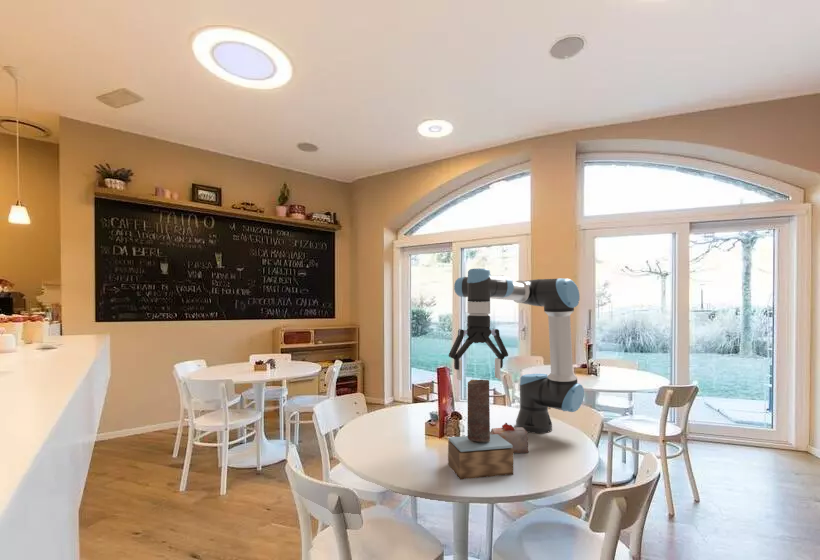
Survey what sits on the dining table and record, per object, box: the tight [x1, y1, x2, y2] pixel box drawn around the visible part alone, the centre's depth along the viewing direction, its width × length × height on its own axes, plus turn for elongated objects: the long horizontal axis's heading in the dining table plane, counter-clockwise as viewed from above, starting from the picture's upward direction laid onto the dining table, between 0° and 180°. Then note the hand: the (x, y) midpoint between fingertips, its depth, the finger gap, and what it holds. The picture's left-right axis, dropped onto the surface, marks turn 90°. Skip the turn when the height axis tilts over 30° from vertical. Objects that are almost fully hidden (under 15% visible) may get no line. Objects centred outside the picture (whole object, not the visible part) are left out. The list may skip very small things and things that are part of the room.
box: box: [447, 439, 514, 481], centre depth 136 cm, size 18×12×8 cm, turn 103°
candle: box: [467, 379, 491, 442], centre depth 136 cm, size 8×7×20 cm
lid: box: [448, 434, 513, 452], centre depth 136 cm, size 18×12×1 cm
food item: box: [490, 422, 530, 454], centre depth 152 cm, size 14×8×10 cm, turn 95°
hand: (478, 378), depth 137 cm, fingers open, 13 cm apart
